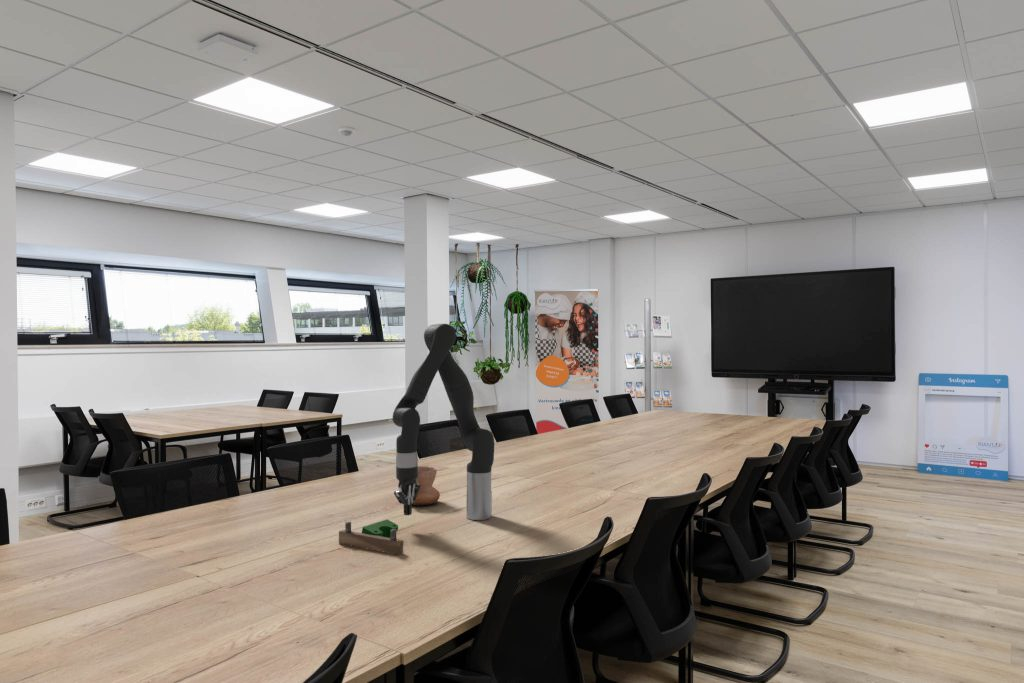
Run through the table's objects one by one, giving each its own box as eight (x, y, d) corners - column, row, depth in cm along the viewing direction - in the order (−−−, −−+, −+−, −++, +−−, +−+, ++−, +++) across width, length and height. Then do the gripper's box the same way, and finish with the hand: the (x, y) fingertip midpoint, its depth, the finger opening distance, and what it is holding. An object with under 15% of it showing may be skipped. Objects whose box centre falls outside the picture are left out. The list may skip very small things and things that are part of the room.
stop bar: (343, 542, 210) (343, 520, 210) (403, 553, 199) (403, 530, 199) (338, 543, 208) (338, 522, 208) (399, 555, 197) (399, 532, 197)
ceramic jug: (419, 497, 272) (418, 463, 272) (448, 500, 266) (447, 466, 266) (393, 507, 256) (392, 471, 256) (423, 511, 250) (423, 474, 250)
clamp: (375, 559, 206) (371, 537, 202) (362, 551, 210) (358, 530, 206) (401, 537, 215) (398, 516, 211) (388, 529, 218) (385, 509, 214)
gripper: (404, 469, 216) (405, 520, 216) (426, 462, 228) (427, 511, 228) (386, 467, 219) (387, 518, 219) (408, 460, 231) (409, 508, 231)
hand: (407, 514), depth 223 cm, fingers closed
